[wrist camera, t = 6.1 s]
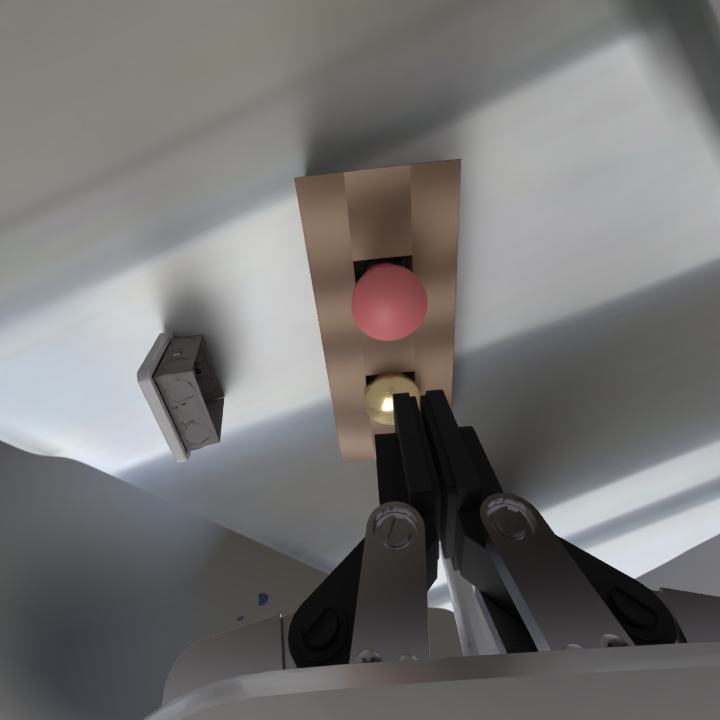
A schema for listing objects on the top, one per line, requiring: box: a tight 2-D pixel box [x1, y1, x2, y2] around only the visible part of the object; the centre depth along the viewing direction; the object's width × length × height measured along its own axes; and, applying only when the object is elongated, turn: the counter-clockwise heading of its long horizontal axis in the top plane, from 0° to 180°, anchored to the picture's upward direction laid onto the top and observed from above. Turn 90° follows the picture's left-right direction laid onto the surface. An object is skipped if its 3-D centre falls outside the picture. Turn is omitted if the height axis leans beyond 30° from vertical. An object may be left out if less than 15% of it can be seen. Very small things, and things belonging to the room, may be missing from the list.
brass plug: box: [364, 372, 420, 425], centre depth 32 cm, size 5×5×6 cm
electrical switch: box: [137, 331, 224, 462], centre depth 31 cm, size 9×5×9 cm, turn 5°
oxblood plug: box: [351, 258, 428, 341], centre depth 25 cm, size 5×5×6 cm
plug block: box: [294, 159, 461, 462], centre depth 30 cm, size 26×11×5 cm, turn 6°
